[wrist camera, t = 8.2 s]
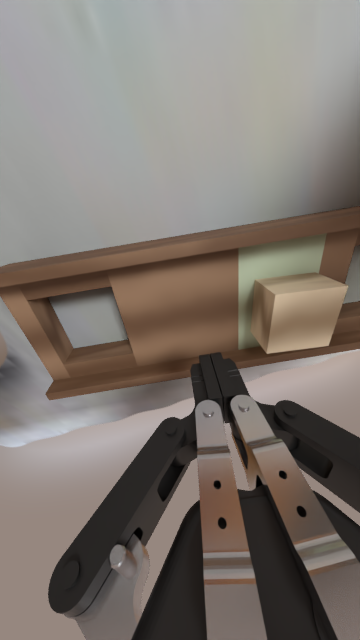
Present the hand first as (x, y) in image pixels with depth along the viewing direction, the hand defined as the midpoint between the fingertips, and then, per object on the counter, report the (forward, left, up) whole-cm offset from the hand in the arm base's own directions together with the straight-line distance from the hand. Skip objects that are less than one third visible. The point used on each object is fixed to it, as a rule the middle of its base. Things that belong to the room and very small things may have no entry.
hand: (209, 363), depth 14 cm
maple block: (+1, +9, -8) cm, 12 cm away
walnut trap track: (0, +4, -11) cm, 12 cm away
